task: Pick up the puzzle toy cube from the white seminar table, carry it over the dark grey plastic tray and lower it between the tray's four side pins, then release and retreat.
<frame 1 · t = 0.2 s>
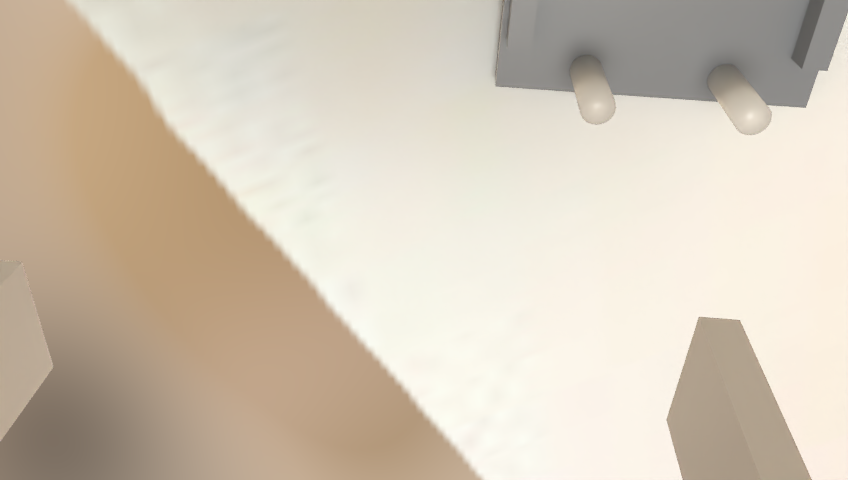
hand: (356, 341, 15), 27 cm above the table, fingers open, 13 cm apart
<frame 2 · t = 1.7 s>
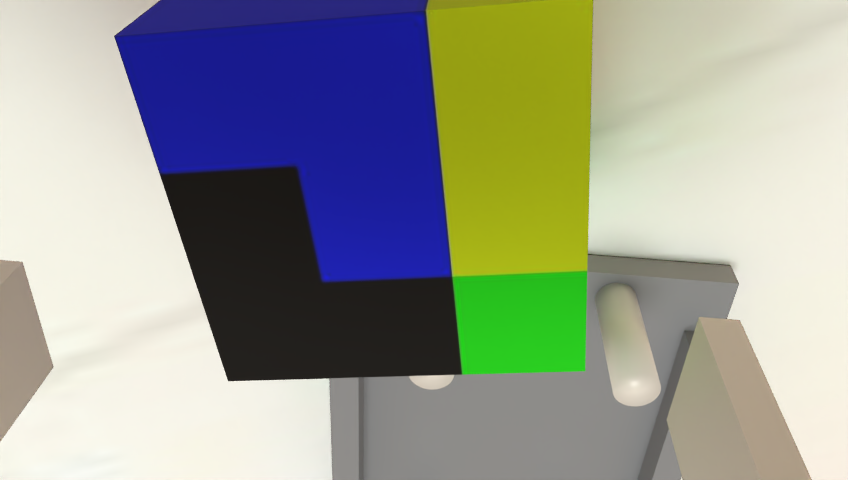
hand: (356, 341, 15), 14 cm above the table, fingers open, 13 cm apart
tray: (506, 401, 35), on the table
puzzle toy: (412, 71, 27), on the table
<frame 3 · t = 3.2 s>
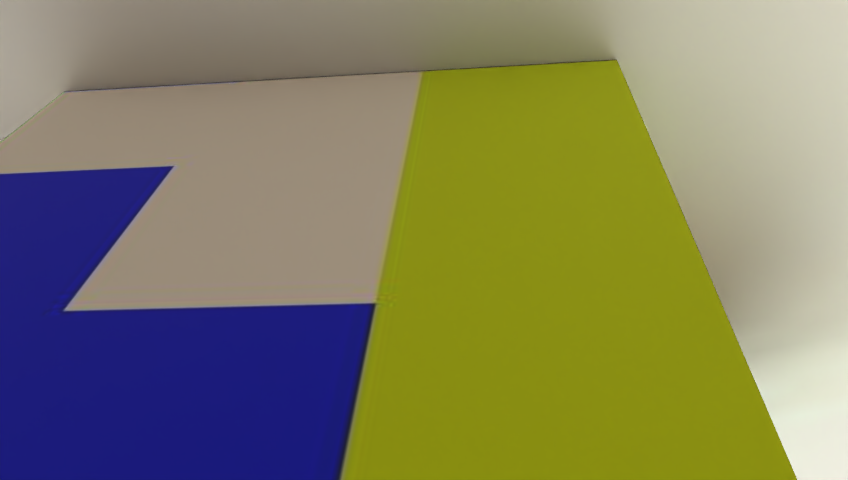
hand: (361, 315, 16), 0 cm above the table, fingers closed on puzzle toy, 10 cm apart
puzzle toy: (366, 295, 16), on the table, touching gripper
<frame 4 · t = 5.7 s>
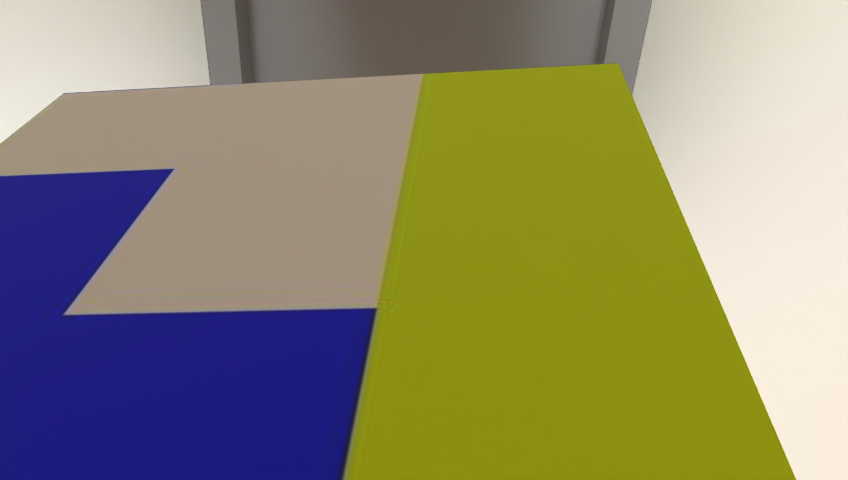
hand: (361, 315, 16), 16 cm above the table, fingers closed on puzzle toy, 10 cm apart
tray: (423, 58, 29), on the table
puzzle toy: (366, 297, 16), point 16 cm above the table, touching gripper
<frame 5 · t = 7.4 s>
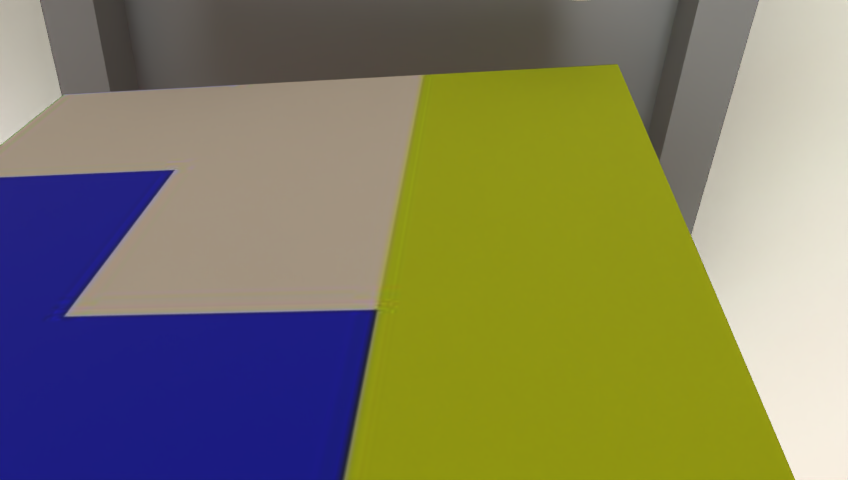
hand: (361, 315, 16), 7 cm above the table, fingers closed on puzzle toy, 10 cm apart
tray: (394, 164, 21), on the table
puzzle toy: (366, 297, 16), point 6 cm above the table, touching gripper
when the fingers open (4 cm above the table, at t = 8.5 s): puzzle toy drops 3 cm, resting on tray.
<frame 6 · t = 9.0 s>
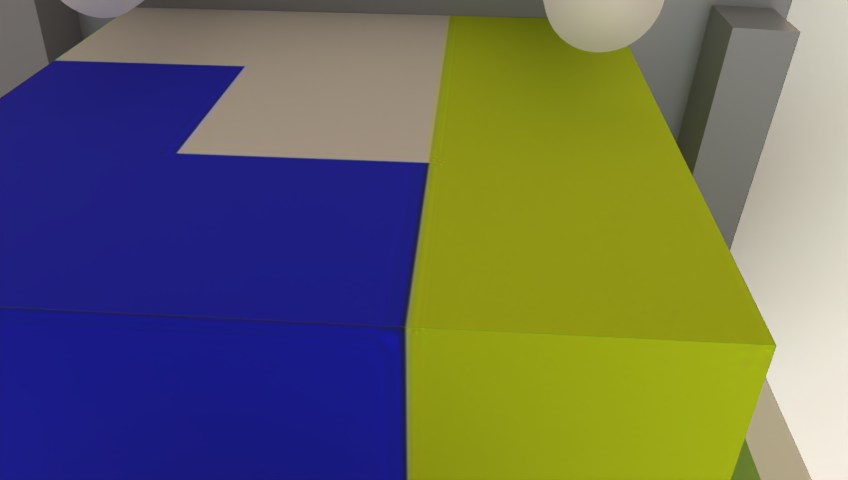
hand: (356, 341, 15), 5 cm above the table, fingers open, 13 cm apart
tray: (385, 209, 19), on the table
puzzle toy: (376, 217, 18), point 1 cm above the table, touching tray
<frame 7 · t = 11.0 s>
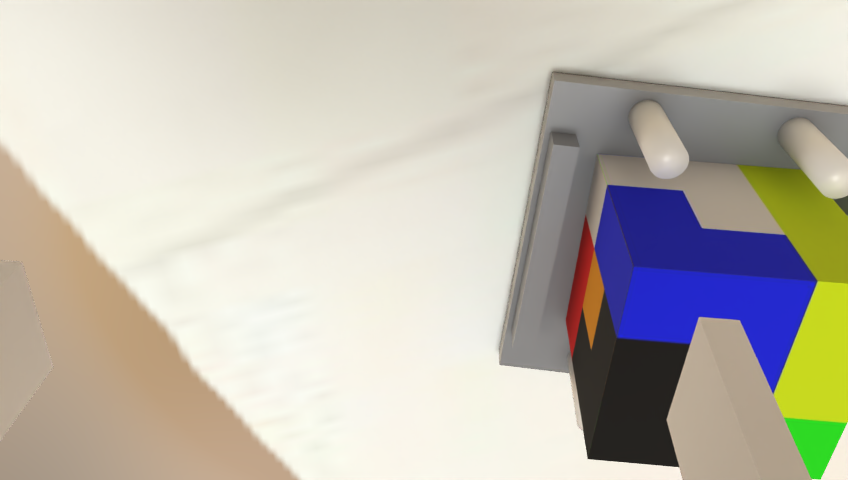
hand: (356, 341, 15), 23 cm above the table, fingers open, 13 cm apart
tray: (673, 244, 40), on the table
puzzle toy: (677, 248, 39), point 1 cm above the table, touching tray
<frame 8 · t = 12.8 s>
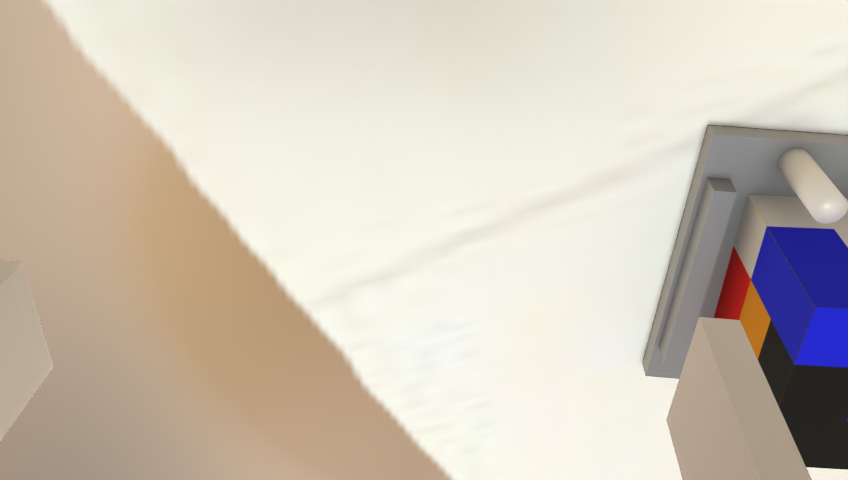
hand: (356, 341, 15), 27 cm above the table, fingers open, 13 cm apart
tray: (807, 267, 44), on the table
puzzle toy: (814, 271, 43), point 1 cm above the table, touching tray
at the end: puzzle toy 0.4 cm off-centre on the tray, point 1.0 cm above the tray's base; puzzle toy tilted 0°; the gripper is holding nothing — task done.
